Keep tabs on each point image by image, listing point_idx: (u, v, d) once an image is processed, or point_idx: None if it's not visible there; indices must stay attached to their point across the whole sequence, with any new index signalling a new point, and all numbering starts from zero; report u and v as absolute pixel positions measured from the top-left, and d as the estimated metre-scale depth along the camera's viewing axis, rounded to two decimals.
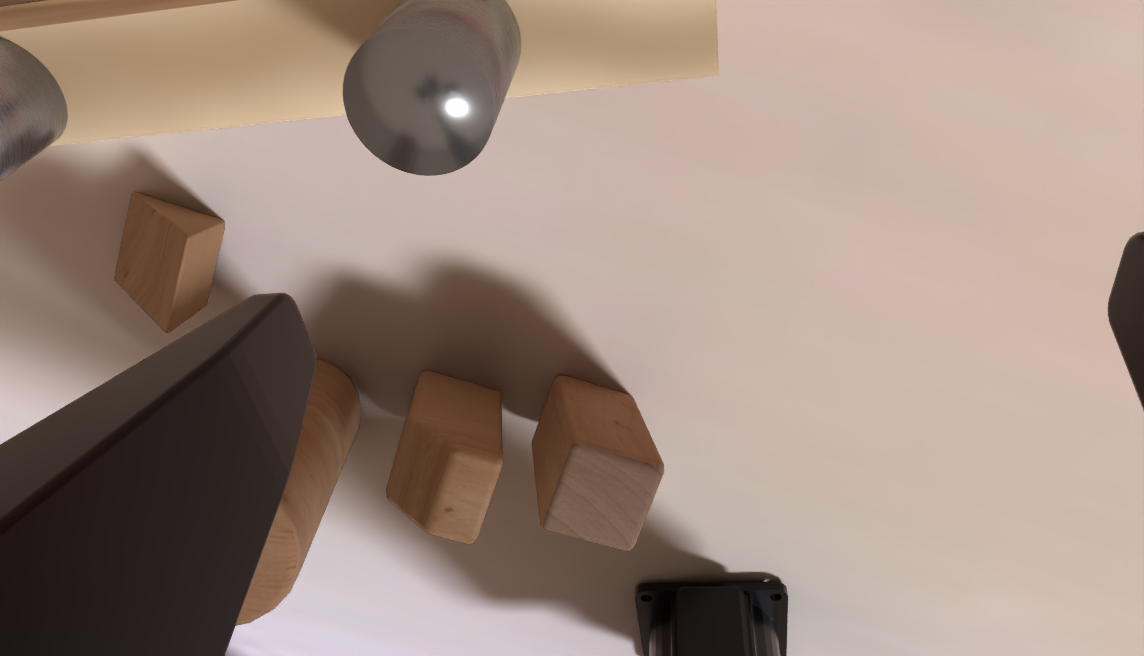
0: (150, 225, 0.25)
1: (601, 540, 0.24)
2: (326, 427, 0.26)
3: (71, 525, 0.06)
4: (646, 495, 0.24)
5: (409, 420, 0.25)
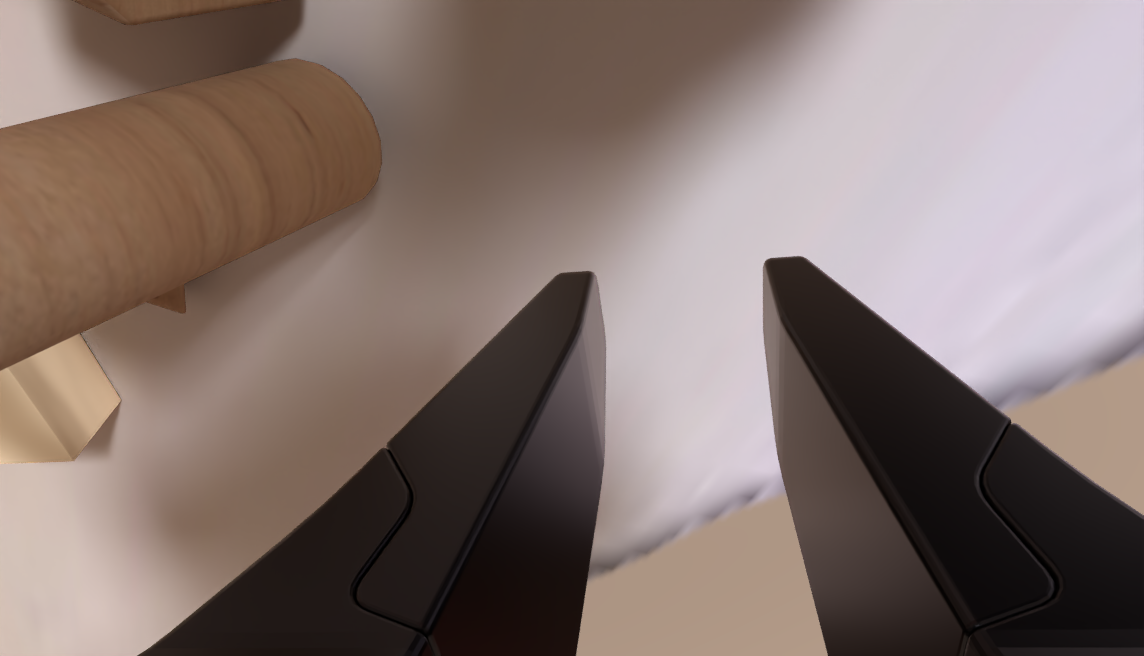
0: None
1: None
2: None
3: (515, 514, 0.06)
4: None
5: None
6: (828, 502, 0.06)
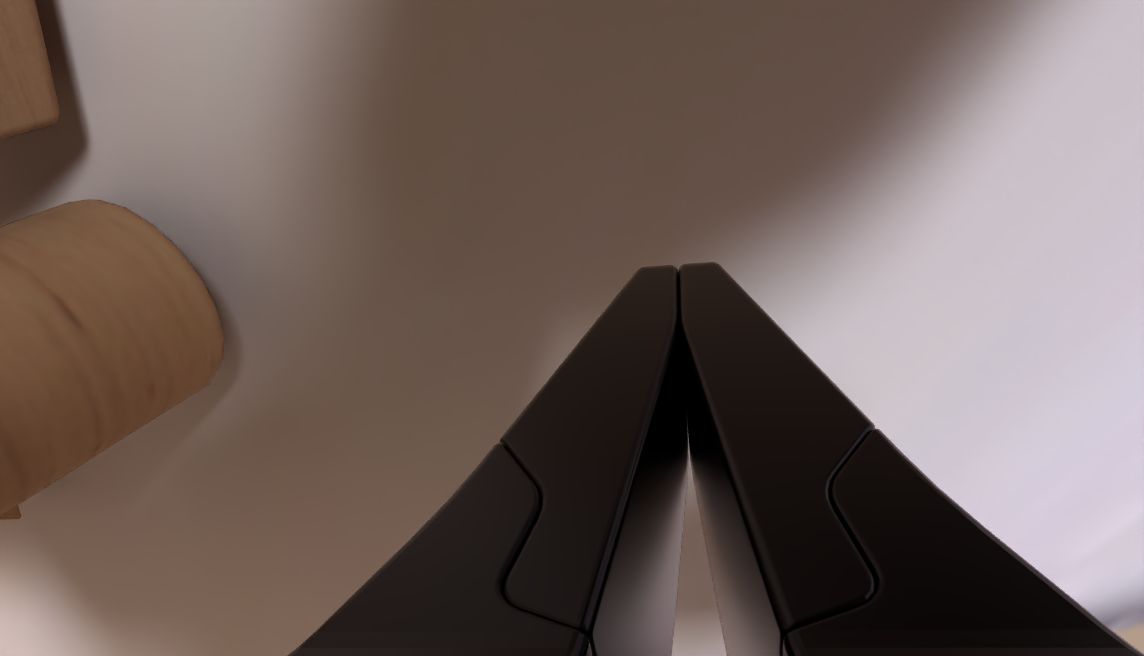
0: None
1: None
2: None
3: (639, 511, 0.06)
4: None
5: None
6: (714, 505, 0.07)
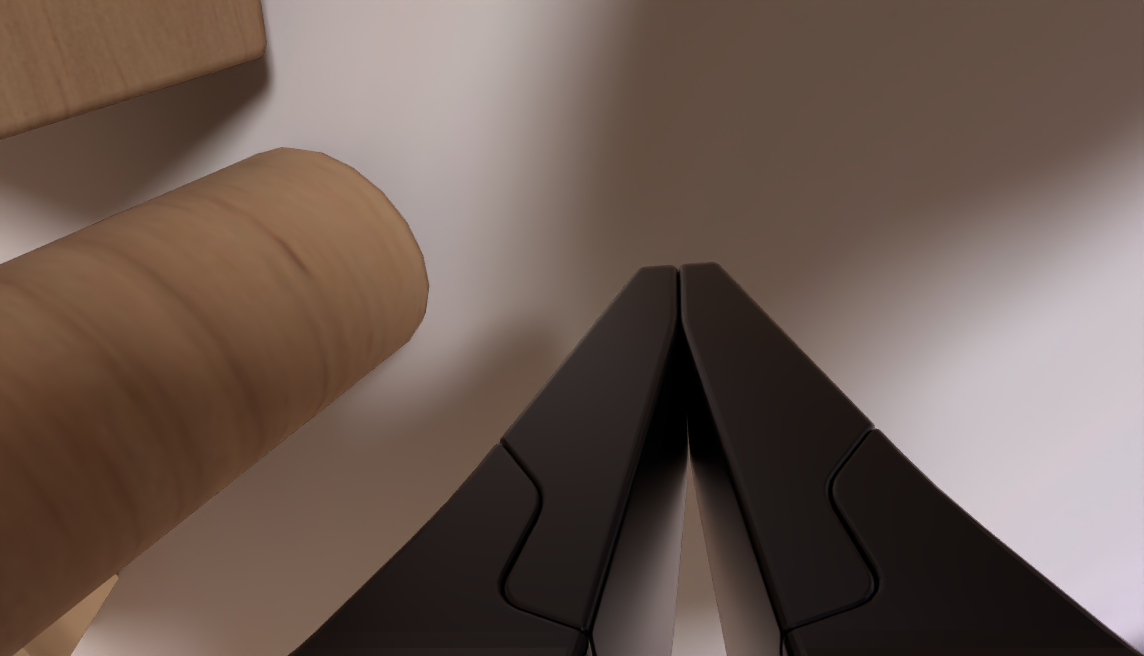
0: None
1: None
2: None
3: (639, 510, 0.06)
4: None
5: None
6: (714, 505, 0.07)
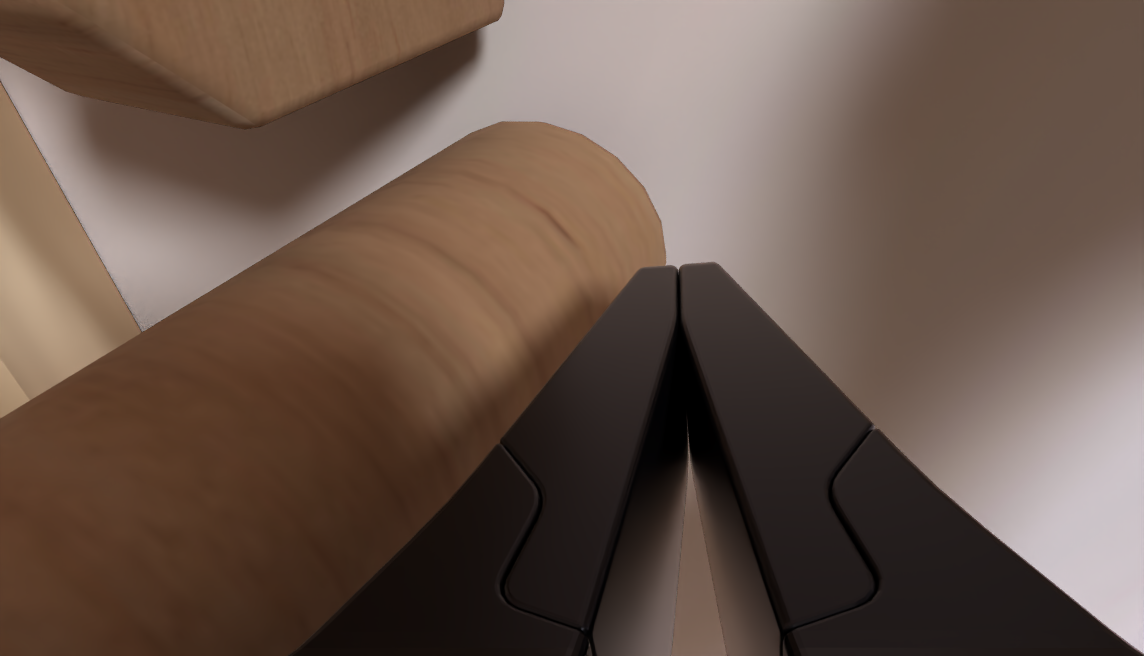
0: None
1: None
2: None
3: (639, 511, 0.06)
4: None
5: None
6: (714, 505, 0.07)
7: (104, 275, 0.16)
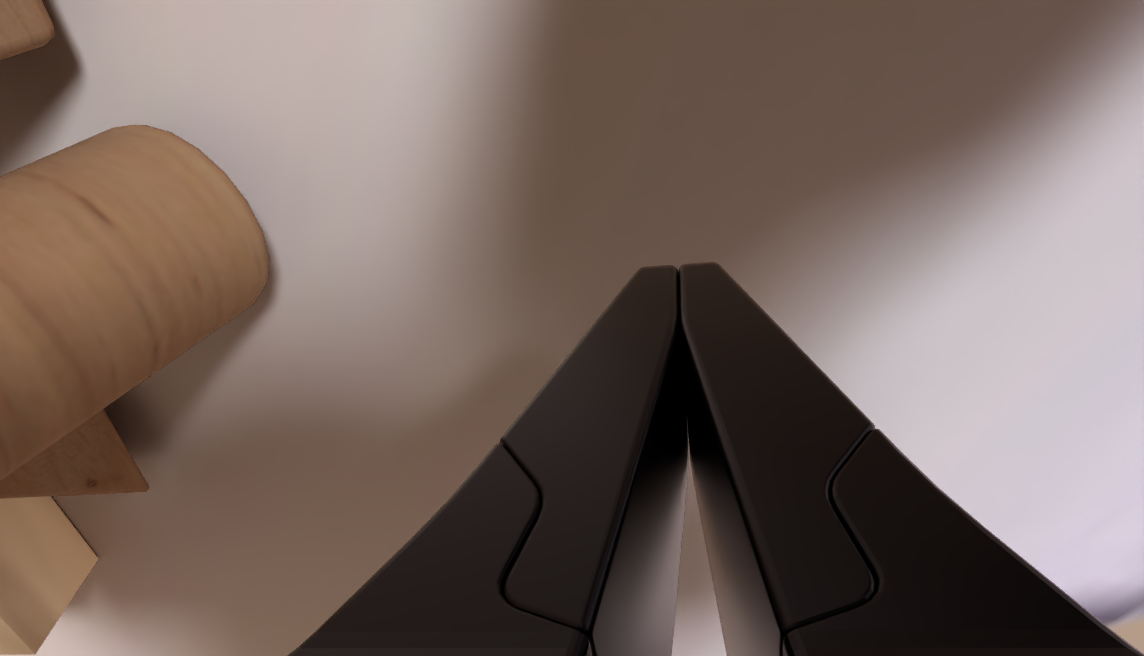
0: None
1: None
2: None
3: (639, 511, 0.06)
4: None
5: None
6: (714, 505, 0.07)
7: None
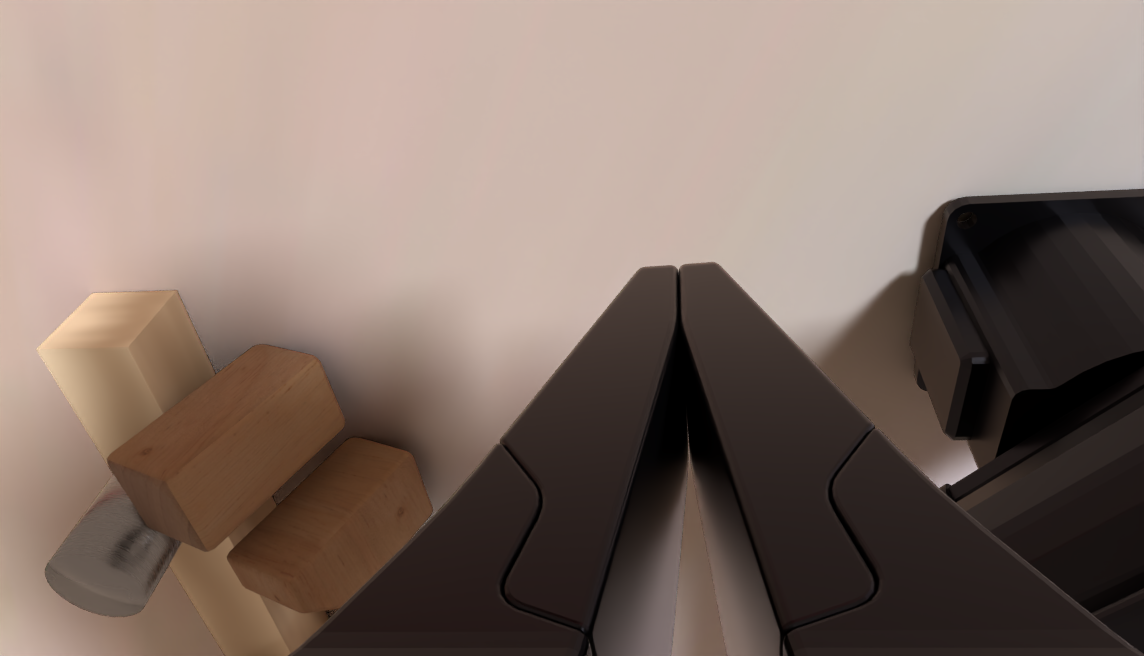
0: None
1: (176, 508, 0.23)
2: None
3: (639, 511, 0.06)
4: (124, 475, 0.23)
5: None
6: (714, 505, 0.07)
7: None
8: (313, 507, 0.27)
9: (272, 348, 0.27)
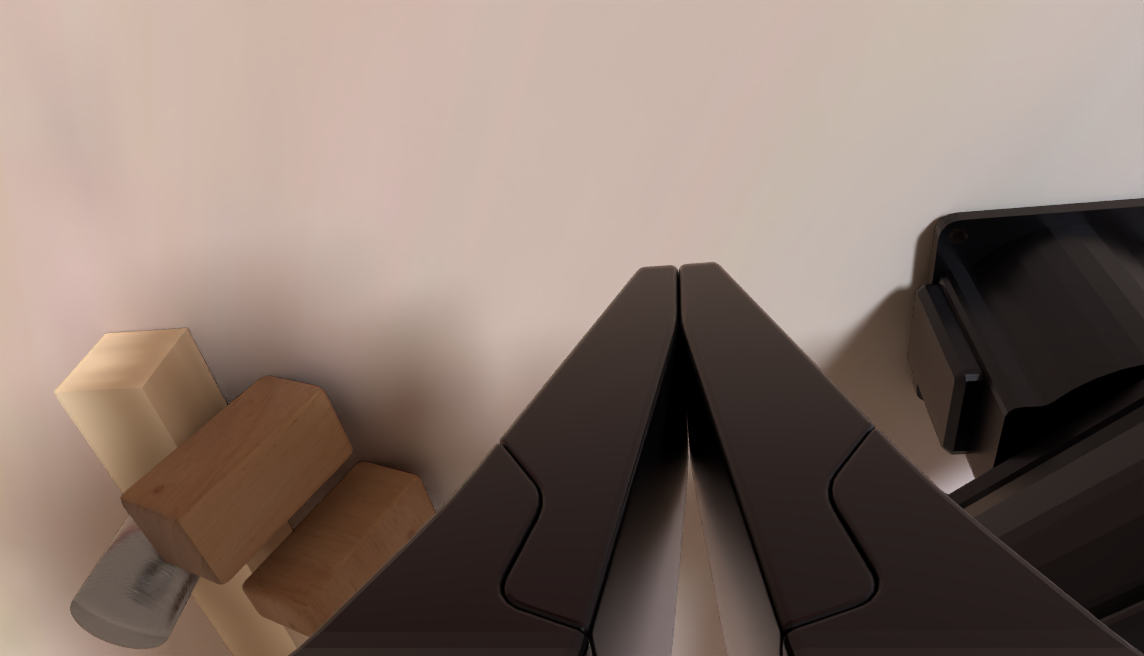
0: None
1: (189, 544, 0.23)
2: None
3: (639, 511, 0.06)
4: (138, 513, 0.24)
5: None
6: (714, 505, 0.07)
7: None
8: (325, 534, 0.28)
9: (278, 380, 0.28)
